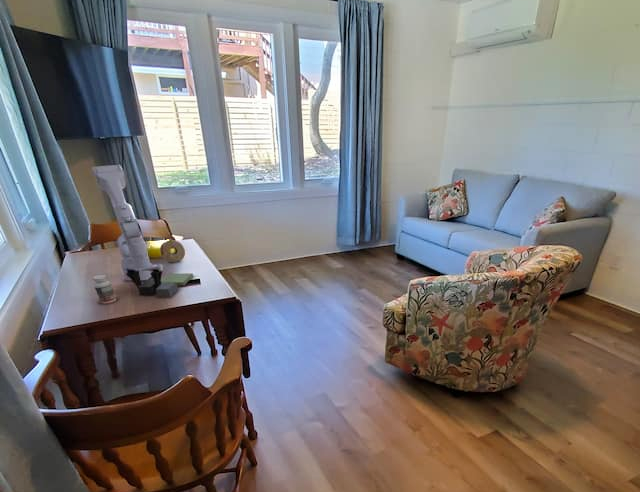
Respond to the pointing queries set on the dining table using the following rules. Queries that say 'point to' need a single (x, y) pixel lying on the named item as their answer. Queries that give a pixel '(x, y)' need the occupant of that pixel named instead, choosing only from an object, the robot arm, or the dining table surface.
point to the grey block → (167, 289)
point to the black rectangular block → (147, 288)
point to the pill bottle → (104, 289)
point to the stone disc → (170, 256)
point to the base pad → (178, 278)
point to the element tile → (155, 249)
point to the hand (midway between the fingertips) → (149, 287)
